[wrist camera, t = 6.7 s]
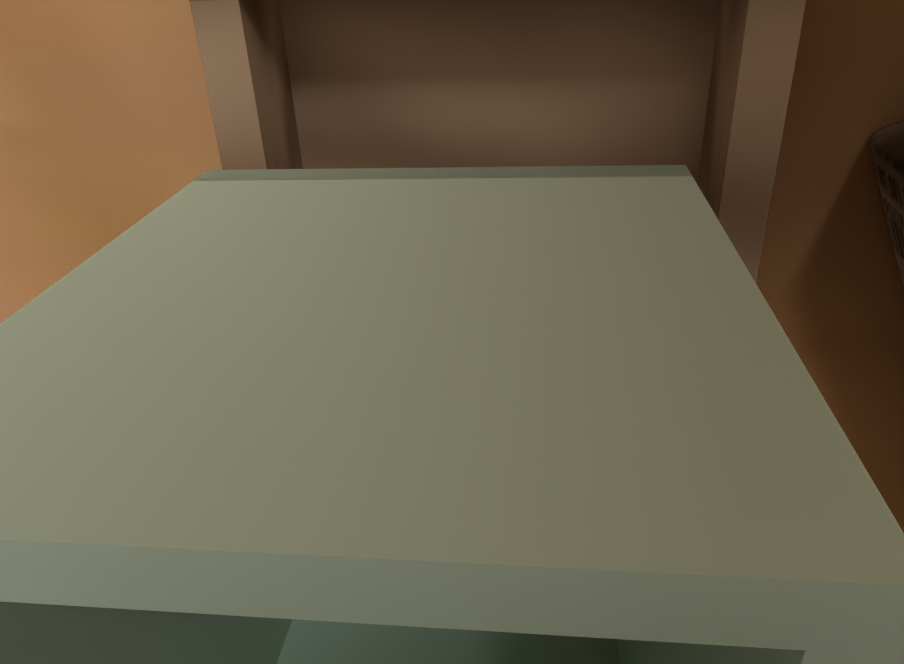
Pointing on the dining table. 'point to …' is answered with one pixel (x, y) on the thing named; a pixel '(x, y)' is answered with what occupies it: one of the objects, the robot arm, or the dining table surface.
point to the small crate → (429, 436)
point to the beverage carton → (891, 182)
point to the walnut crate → (510, 88)
